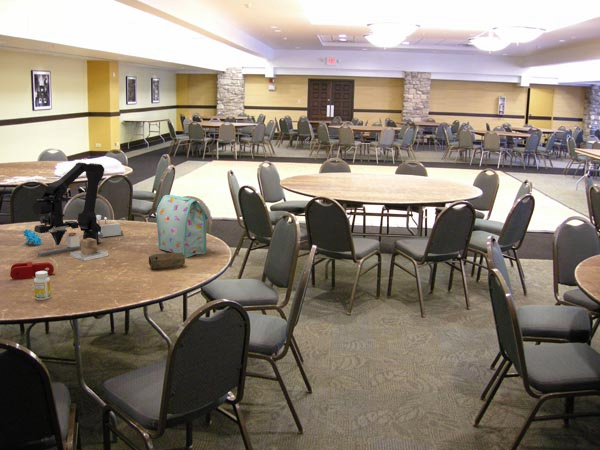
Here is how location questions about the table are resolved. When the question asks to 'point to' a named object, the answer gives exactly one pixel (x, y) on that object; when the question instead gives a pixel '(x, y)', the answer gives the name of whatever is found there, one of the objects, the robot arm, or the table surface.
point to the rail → (57, 250)
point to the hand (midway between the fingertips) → (57, 245)
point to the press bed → (89, 256)
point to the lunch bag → (181, 225)
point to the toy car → (109, 228)
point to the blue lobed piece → (32, 237)
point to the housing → (88, 246)
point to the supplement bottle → (42, 286)
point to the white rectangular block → (72, 240)
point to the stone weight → (166, 260)
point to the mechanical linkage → (29, 270)
